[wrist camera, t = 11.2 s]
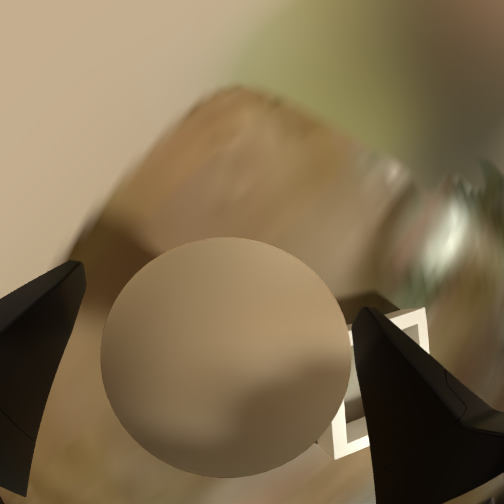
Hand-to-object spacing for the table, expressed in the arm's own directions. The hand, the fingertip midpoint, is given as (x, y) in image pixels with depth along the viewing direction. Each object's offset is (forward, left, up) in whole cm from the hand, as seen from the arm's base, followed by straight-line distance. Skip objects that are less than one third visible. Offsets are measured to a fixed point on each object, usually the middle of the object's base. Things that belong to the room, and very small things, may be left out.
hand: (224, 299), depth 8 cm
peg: (-1, 0, -10) cm, 10 cm away
